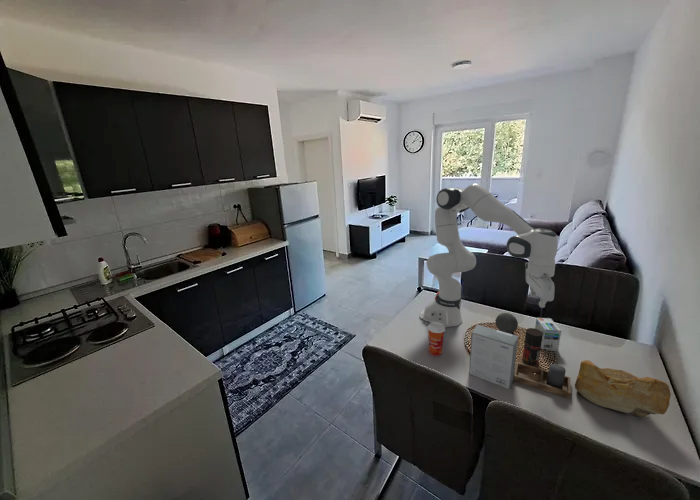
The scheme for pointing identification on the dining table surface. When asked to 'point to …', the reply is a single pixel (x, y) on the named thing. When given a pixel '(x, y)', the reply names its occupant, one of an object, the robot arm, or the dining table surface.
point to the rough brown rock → (622, 390)
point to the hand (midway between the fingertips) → (537, 301)
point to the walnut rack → (540, 380)
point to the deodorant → (532, 346)
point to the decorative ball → (506, 322)
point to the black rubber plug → (556, 376)
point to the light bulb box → (548, 333)
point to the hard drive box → (493, 355)
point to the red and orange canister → (435, 338)
